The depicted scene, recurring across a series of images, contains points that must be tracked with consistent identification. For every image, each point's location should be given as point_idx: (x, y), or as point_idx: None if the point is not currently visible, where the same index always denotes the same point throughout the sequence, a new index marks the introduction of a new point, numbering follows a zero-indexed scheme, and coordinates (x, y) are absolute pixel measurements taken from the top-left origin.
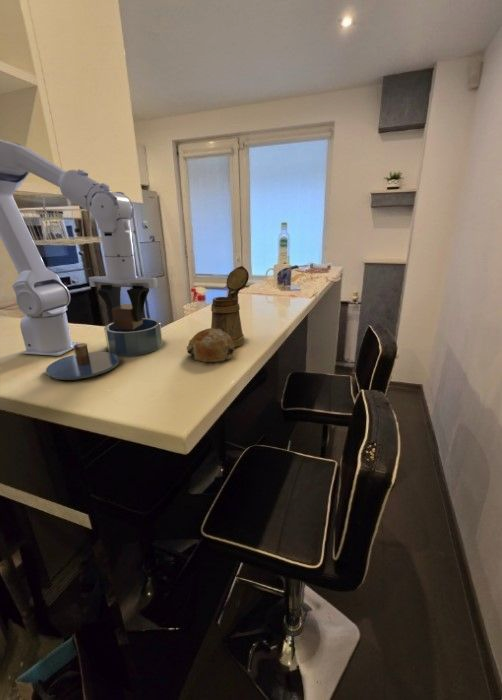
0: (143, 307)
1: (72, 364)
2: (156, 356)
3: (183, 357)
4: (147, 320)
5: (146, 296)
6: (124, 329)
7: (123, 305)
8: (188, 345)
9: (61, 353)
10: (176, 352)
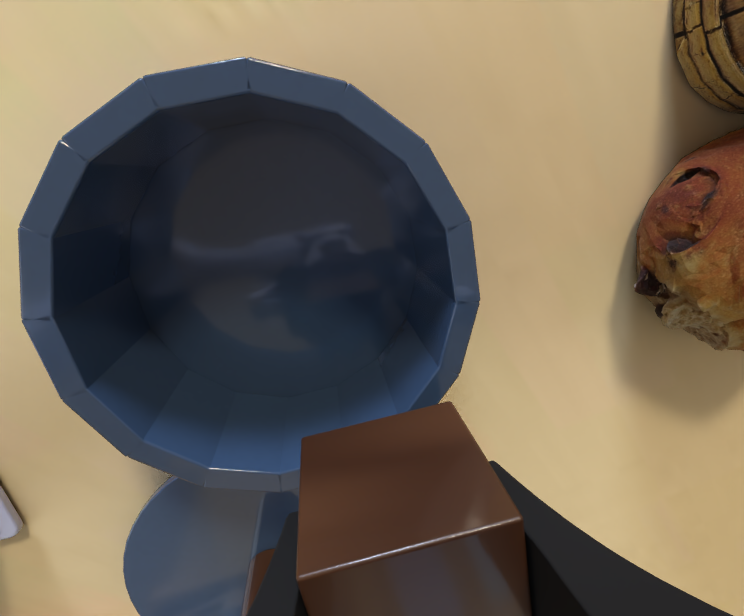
0: (565, 520)
1: (239, 590)
2: (478, 342)
3: (604, 304)
4: (243, 95)
5: (706, 609)
6: (100, 220)
7: (359, 614)
8: (679, 310)
9: (15, 519)
10: (545, 261)
